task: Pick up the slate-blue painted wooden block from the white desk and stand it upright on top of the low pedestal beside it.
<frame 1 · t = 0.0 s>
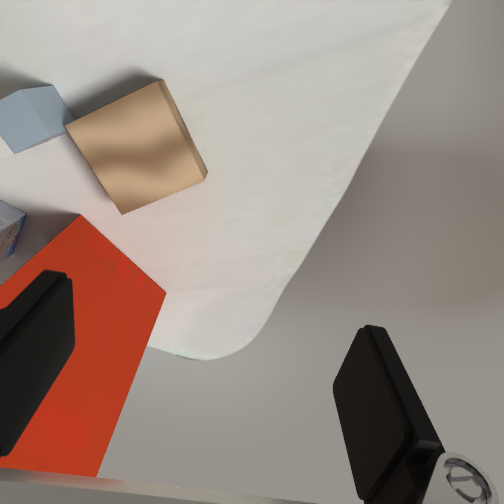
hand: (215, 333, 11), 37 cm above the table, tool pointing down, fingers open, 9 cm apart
file binder: (109, 268, 54), on the table
medicine box: (5, 225, 51), on the table
block: (50, 114, 43), on the table
pedestal: (146, 147, 45), on the table
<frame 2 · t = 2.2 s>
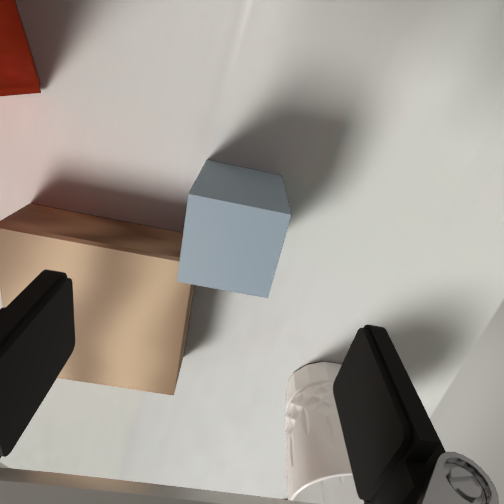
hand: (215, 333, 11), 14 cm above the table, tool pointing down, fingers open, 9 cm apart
white cup: (321, 385, 32), on the table
block: (237, 203, 24), on the table
pedestal: (115, 289, 27), on the table
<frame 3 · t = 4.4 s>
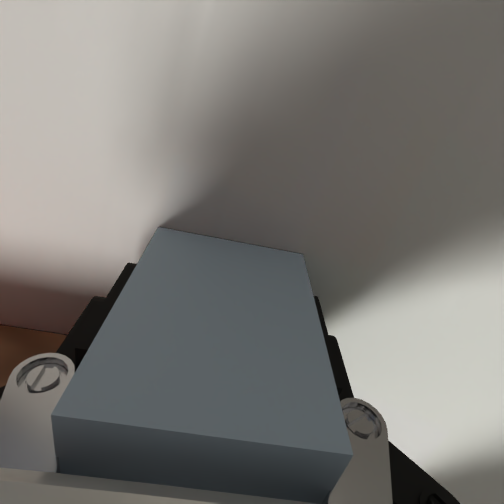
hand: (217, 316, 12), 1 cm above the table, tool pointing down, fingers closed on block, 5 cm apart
block: (220, 298, 13), on the table, touching gripper
pedestal: (22, 421, 16), on the table
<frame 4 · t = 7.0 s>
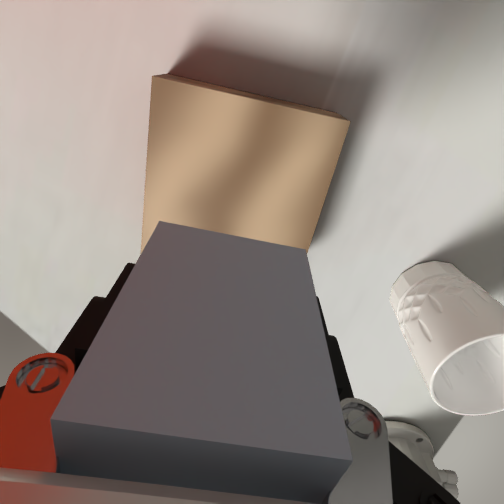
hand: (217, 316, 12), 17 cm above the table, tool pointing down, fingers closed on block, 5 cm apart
white cup: (425, 290, 32), on the table
block: (221, 292, 13), point 16 cm above the table, touching gripper
pedestal: (237, 176, 27), on the table
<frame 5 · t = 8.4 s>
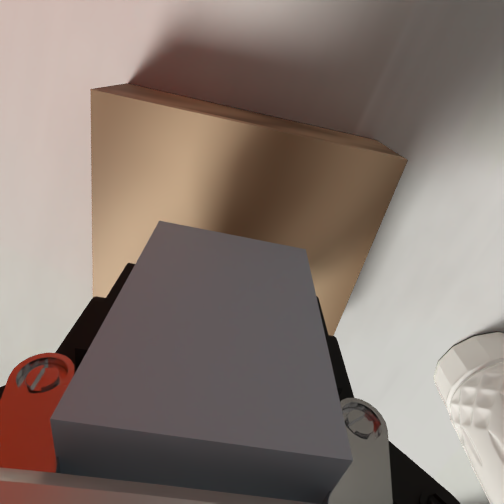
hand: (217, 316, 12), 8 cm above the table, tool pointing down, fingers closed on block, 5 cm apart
white cup: (480, 365, 24), on the table
block: (221, 292, 13), point 7 cm above the table, touching gripper
pedestal: (232, 226, 19), on the table
when the fingers open (6 cm above the table, at t = 9.6 s): block drops 1 cm, resting on pedestal.
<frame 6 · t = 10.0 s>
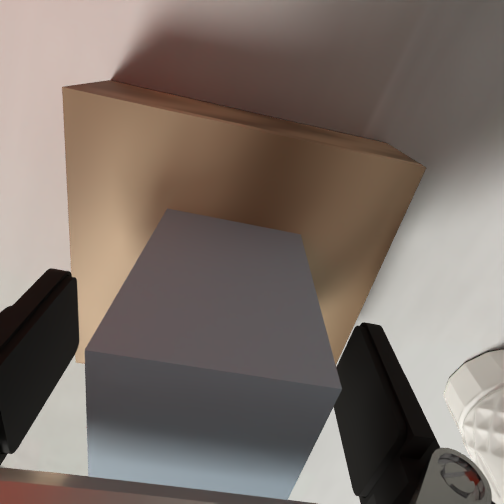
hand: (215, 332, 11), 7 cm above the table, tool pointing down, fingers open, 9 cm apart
white cup: (493, 381, 23), on the table
block: (223, 277, 14), point 4 cm above the table, touching pedestal
pedestal: (228, 236, 18), on the table
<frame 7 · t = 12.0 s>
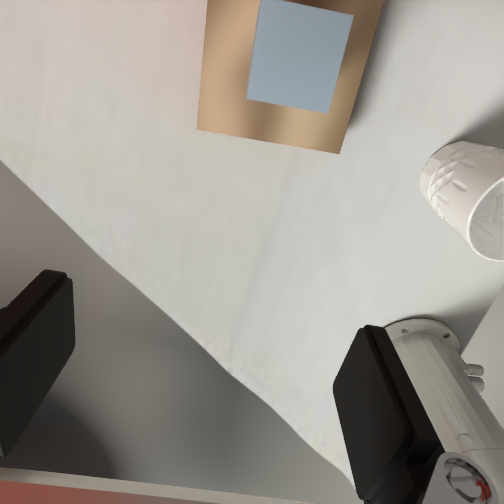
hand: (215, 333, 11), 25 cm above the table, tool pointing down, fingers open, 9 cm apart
white cup: (452, 174, 35), on the table
block: (285, 57, 26), point 4 cm above the table, touching pedestal
pedestal: (280, 59, 29), on the table
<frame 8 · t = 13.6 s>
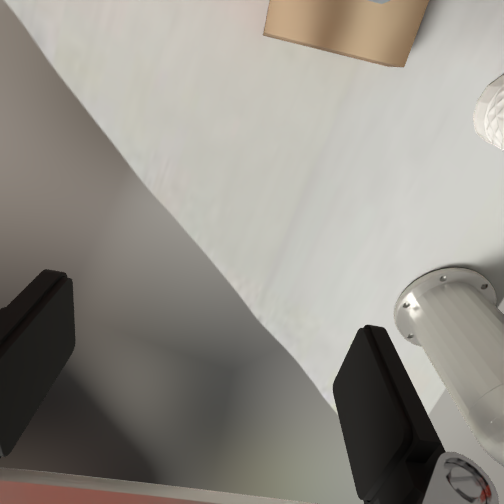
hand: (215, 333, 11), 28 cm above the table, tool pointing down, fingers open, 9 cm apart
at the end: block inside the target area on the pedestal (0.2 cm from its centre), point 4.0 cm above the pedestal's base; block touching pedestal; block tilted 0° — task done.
